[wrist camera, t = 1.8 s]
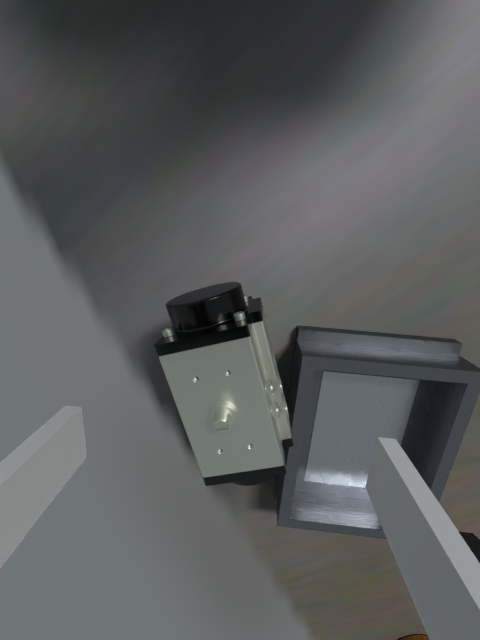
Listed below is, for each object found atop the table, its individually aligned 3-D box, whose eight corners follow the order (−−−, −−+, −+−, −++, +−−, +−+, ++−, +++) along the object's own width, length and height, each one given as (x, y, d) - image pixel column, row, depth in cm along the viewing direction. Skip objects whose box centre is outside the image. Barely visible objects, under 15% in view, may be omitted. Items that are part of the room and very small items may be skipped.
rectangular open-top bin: (297, 325, 24) (304, 343, 20) (454, 339, 24) (491, 359, 20) (274, 495, 30) (276, 533, 26) (399, 509, 29) (420, 551, 25)
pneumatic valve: (231, 399, 27) (208, 524, 15) (194, 280, 24) (132, 325, 12) (288, 388, 26) (310, 511, 15) (259, 263, 23) (257, 295, 11)
